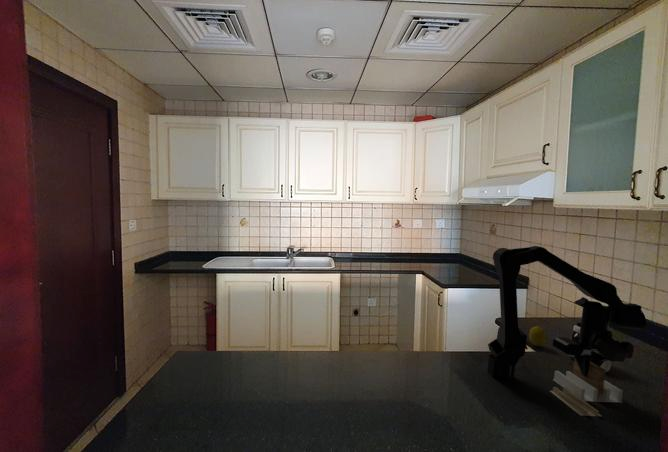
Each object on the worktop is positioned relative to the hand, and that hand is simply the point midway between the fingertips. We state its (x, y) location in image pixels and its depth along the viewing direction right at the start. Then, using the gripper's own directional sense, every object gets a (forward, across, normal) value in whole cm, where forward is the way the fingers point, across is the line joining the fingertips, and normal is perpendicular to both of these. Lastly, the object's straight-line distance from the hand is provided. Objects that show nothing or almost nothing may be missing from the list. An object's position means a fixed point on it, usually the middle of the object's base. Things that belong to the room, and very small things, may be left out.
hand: (587, 376), depth 85 cm
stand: (+5, -9, -6) cm, 12 cm away
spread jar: (+5, +18, +18) cm, 26 cm away
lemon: (+5, +8, +30) cm, 32 cm away
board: (+3, 0, 0) cm, 3 cm away
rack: (+5, 0, 0) cm, 5 cm away
